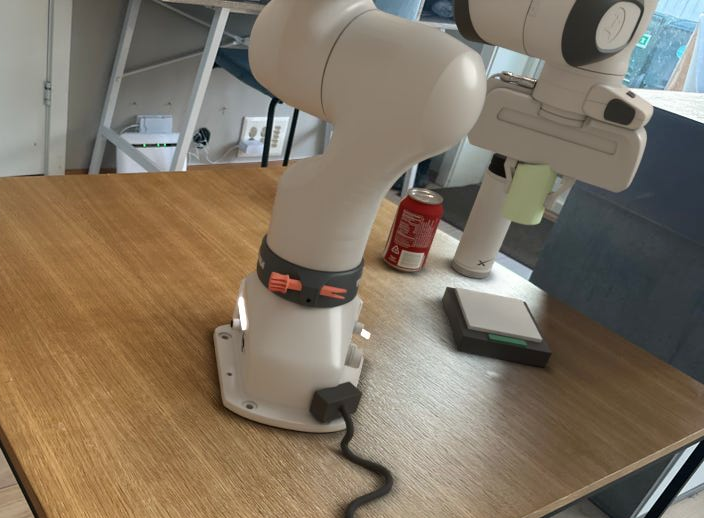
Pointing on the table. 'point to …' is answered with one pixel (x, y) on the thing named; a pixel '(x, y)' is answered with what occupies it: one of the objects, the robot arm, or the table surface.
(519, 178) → the candle
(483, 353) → the scale
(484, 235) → the travel mug
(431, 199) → the soda can
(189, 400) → the table surface
